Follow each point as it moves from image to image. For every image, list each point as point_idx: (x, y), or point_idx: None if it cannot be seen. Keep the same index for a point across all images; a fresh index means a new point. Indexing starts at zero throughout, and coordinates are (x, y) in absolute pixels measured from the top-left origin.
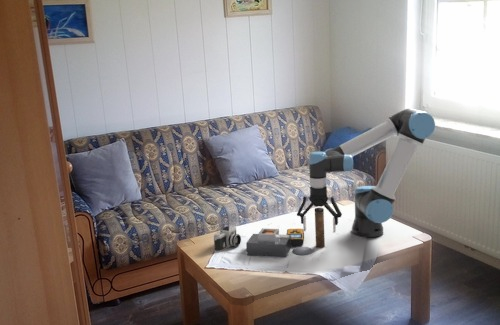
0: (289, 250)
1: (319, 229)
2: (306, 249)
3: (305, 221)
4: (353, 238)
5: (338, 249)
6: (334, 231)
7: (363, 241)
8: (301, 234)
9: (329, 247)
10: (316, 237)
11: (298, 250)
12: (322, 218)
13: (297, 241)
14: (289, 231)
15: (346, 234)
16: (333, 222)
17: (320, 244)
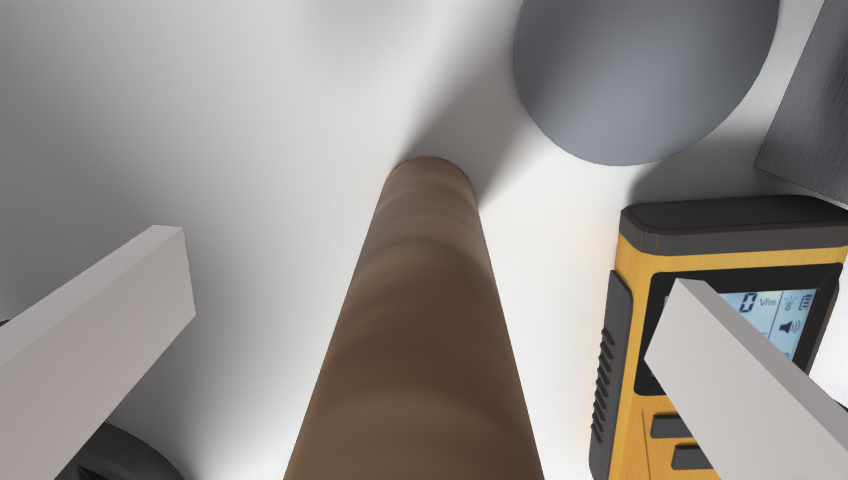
0: (811, 46)
1: (423, 256)
2: (592, 74)
3: (761, 457)
4: (143, 383)
5: (218, 111)
6: (152, 233)
7: None
8: (644, 376)
9: (327, 170)
10: (474, 217)
11: (699, 36)
12: (297, 475)
13: (709, 217)
14: None
15: (223, 455)
16: (16, 345)
17: (422, 167)
